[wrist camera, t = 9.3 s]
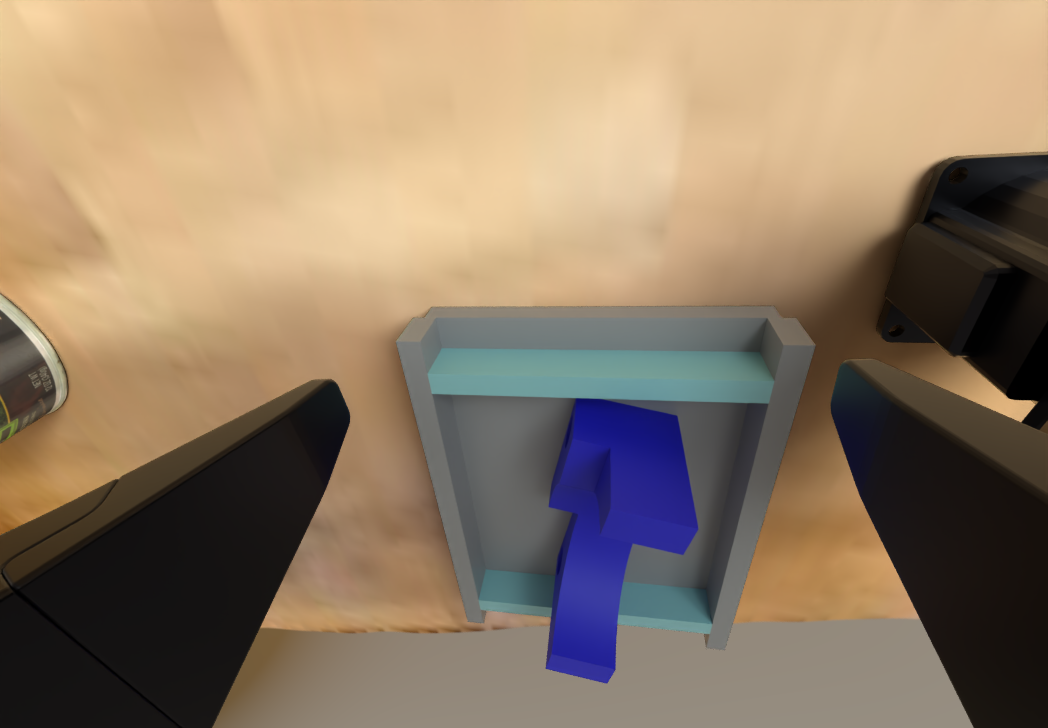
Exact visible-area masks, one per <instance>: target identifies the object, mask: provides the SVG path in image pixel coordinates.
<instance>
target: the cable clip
mask: <svg viewBox="0 0 1048 728" xmlns="http://www.w3.org/2000/svg"><path fill="white" fill-rule="evenodd" d="M548 507H550V508H554V509H559V510H563V511H567V512H572V516H571V519H570V522H569V525H568V528H567V531H566V534H565V537H564V539H563V542H562V545H561V548H560V551H559V554H558V557H557V564H556V574H555V584H554V593H553V603H552V613H551V622H550V632H549V642H548V651H547V662H546V669H549V670H553V671H557V672H561V673H566V674H570V675H574V676H578V677H582V678H586V679H590V680H594V681H599V682H603V683H608V681H609V679H610V678H611V676H612V675H613V673H614V671H615V662H616V661H615V658H616V657H615V656H616V635H617V622H618V612H619V604H620V597H621V591H622V585H623V580H624V575H625V570H626V566H627V562H628V558H629V554H630V551H631V548H632V545H633V544H637V545H641V546H646V547H650V548H654V549H659V550H663V551H667V552H672V553H676V554H680V555H684V553H685V551H686V550H687V548H688V546H689V545H690V543H691V541H692V539H693V538H694V536H695V534H696V533H697V531H698V529H699V528H698V523H697V517H696V512H695V507H694V501H693V496H692V491H691V485H690V480H689V475H688V469H687V464H686V459H685V453H684V448H683V443H682V437H681V432H680V427H679V421H678V416H677V415H672V414H668V413H663V412H659V411H654V410H650V409H645V408H640V407H636V406H631V405H627V404H622V403H618V402H613V401H608V400H604V399H591V398H576V399H575V403H574V406H573V410H572V413H571V417H570V420H569V424H568V427H567V431H566V434H565V438H564V441H563V445H562V448H561V452H560V456H559V459H558V463H557V466H556V470H555V473H554V477H553V480H552V484H551V491H550V498H549V506H548Z"/></svg>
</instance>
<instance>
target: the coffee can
mask: <svg viewBox="0 0 1048 728" xmlns="http://www.w3.org/2000/svg"><path fill="white" fill-rule="evenodd" d="M67 390H68V383H67V377H66V373H65V370H64V368H63V365H62V363H61V361H60V359H59V357H58V355H57V353H56V352H55V350H54V348H53V346H52V345H51V343H50V342H49V340H48V339H47V338H46V337H45V335H44V334H43V333H42V332H41V331H40V329H39V328H38V327H37V326H36V325H35V324H34V323H33V322H32V321H31V320H30V319H29V318H28V317H27V316H26V315H25V314H24V313H23V312H22V311H21V310H20V309H19V308H18V307H16V306H15V305H14V304H13V303H12V302H11V301H9V300H8V299H7V298H5V297H4V296H3V295H1V294H0V443H2V442H3V441H5V440H7V439H9V438H10V437H11V436H13V435H14V434H16V433H18V432H19V431H21V430H23V429H24V428H26V427H27V426H29V425H30V424H32V423H33V422H35V421H36V420H38V419H40V418H41V417H43V416H44V415H46V414H49V413H52V412H54V411H55V410H57V409H58V408H59V407H60V406H61V405H62V404H63V402H64V401H65V399H66V396H67Z"/></svg>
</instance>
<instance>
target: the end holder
mask: <svg viewBox="0 0 1048 728" xmlns="http://www.w3.org/2000/svg"><path fill="white" fill-rule="evenodd" d="M396 344H397V348H398V352H399V356H400V360H401V364H402V368H403V371H404V375H405V379H406V383H407V387H408V391H409V395H410V399H411V403H412V406H413V410H414V414H415V418H416V422H417V426H418V430H419V434H420V437H421V441H422V445H423V449H424V453H425V457H426V461H427V465H428V468H429V472H430V476H431V480H432V484H433V488H434V492H435V496H436V500H437V503H438V507H439V511H440V515H441V519H442V523H443V527H444V531H445V534H446V538H447V542H448V546H449V550H450V554H451V558H452V562H453V565H454V569H455V573H456V577H457V581H458V585H459V589H460V593H461V597H462V600H463V604H464V608H465V612H466V616H467V620H468V622H475V623H484V620H485V615H486V611H497V612H506V613H516V614H525V615H535V616H544V617H551V613H552V603H553V593H554V584H555V574H556V564H557V557H558V554H559V551H560V548H561V545H562V542H563V539H564V537H565V534H566V531H567V528H568V525H569V522H570V519H571V516H572V512H567V511H563V510H559V509H554V508H550V507H548V506H549V498H550V491H551V484H552V480H553V477H554V473H555V470H556V466H557V463H558V459H559V456H560V452H561V448H562V445H563V441H564V438H565V434H566V431H567V427H568V424H569V420H570V417H571V413H572V410H573V406H574V403H575V399H576V398H591V399H604V400H608V401H613V402H618V403H622V404H627V405H631V406H636V407H640V408H645V409H650V410H654V411H659V412H663V413H668V414H672V415H677V416H678V421H679V427H680V432H681V437H682V443H683V448H684V453H685V459H686V464H687V469H688V475H689V480H690V485H691V491H692V496H693V501H694V507H695V512H696V517H697V523H698V528H699V529H698V531H697V533H696V534H695V536H694V538H693V539H692V541H691V543H690V545H689V546H688V548H687V550H686V551H685V553H684V555H680V554H676V553H672V552H667V551H663V550H659V549H654V548H650V547H646V546H641V545H637V544H633V545H632V548H631V551H630V554H629V558H628V562H627V566H626V570H625V575H624V580H623V585H622V591H621V597H620V604H619V612H618V622H617V624H619V625H629V626H639V627H648V628H658V629H667V630H676V631H686V632H696V633H704V637H705V643H706V648H710V649H719V650H725V648H726V645H727V641H728V638H729V634H730V631H731V628H732V625H733V621H734V618H735V615H736V611H737V608H738V605H739V601H740V598H741V594H742V591H743V588H744V584H745V581H746V578H747V574H748V571H749V568H750V564H751V561H752V558H753V554H754V551H755V547H756V544H757V541H758V537H759V534H760V531H761V527H762V524H763V521H764V517H765V514H766V511H767V507H768V504H769V501H770V497H771V494H772V490H773V487H774V484H775V480H776V477H777V474H778V470H779V467H780V464H781V460H782V457H783V454H784V450H785V447H786V443H787V440H788V437H789V433H790V430H791V427H792V423H793V420H794V417H795V413H796V410H797V407H798V403H799V400H800V397H801V393H802V390H803V386H804V383H805V380H806V376H807V373H808V370H809V366H810V363H811V360H812V356H813V353H814V350H815V346H816V345H815V344H814V342H813V341H812V340H811V338H810V337H809V335H808V334H807V332H806V331H805V330H804V328H803V327H802V325H801V324H800V322H799V321H798V320H797V318H782V317H781V316H780V314H779V313H778V311H777V310H776V308H775V307H774V306H612V307H432V308H431V309H430V311H429V312H428V313H427V315H426V316H425V318H413V319H412V320H411V321H410V323H409V324H408V326H407V327H406V328H405V330H404V331H403V332H402V334H401V335H400V336H399V338H398V339H397V341H396Z"/></svg>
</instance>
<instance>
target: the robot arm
mask: <svg viewBox="0 0 1048 728" xmlns="http://www.w3.org/2000/svg"><path fill="white" fill-rule="evenodd" d="M956 168H960V173H959V175H958V176H957V177H956V178H955V179H954V180H952V181H948V180H949V175H950V174H951V172H952V171H954V170H955V169H956ZM885 296H886V298H887V299H886V302H885V305H884V308H883V310H882V313H881V316H880V318H879V321H878V324H877V328H876V331H877V333H878V334H879V335H880V336H881V337H882V338H883V339H884V340H885V341H887V342H901V343H937V344H938V345H939V346H940V347H942V348H943V349H944V350H945V351H946V352H947V353H948V354H949V355H951V356H953V357H962V358H963V359H964V360H965V361H966V362H967V363H968V364H970V365H971V366H972V367H973V368H974V369H975V370H977V371H978V372H979V373H980V374H981V375H982V376H983V377H985V378H986V379H987V380H988V381H989V382H990V383H992V384H993V385H994V386H995V387H996V388H997V389H998V390H1000V391H1001V392H1002V393H1003V394H1004V395H1005V396H1007V397H1008V398H1009V399H1013V400H1031V401H1032V402H1033V403H1035V404H1036V405H1035V406H1034V407H1033V409H1032V410H1031V411H1030V412H1029V413H1028V415H1027V416H1026V417H1025V418H1024V420H1023V421H1022V422H1019V421H1016V420H1014V419H1012V418H1009V417H1007V416H1005V415H1003V414H1000V413H998V412H996V411H993V410H991V409H989V408H986V407H984V406H982V405H980V404H977V403H975V402H973V401H970V400H968V399H966V398H963V397H961V396H959V395H957V394H954V393H952V392H950V391H947V390H945V389H943V388H940V387H938V386H936V385H934V384H931V383H929V382H927V381H924V380H922V379H920V378H917V377H915V376H913V375H911V374H908V373H906V372H904V371H901V370H899V369H897V368H894V367H892V366H890V365H888V364H885V363H883V362H881V361H878V360H876V359H848V360H845V361H844V362H842V364H841V365H840V368H839V371H838V375H837V379H836V383H835V387H834V391H833V395H832V399H831V414H832V417H833V420H834V423H835V426H836V429H837V432H838V435H839V438H840V441H841V444H842V446H843V449H844V452H845V455H846V458H847V461H848V464H849V467H850V470H851V473H852V475H853V478H854V481H855V484H856V487H857V489H858V492H859V495H860V497H861V499H862V501H863V504H864V506H865V508H866V510H867V512H868V514H869V516H870V518H871V520H872V522H873V524H874V526H875V528H876V530H877V533H878V535H879V537H880V539H881V541H882V543H883V545H884V547H885V549H886V551H887V553H888V555H889V557H890V559H891V561H892V563H893V565H894V567H895V569H896V571H897V573H898V575H899V577H900V579H901V581H902V583H903V585H904V587H905V589H906V591H907V593H908V595H909V597H910V599H911V602H912V604H913V606H914V608H915V610H916V612H917V614H918V616H919V618H920V620H921V622H922V624H923V626H924V628H925V630H926V632H927V634H928V636H929V638H930V640H931V642H932V644H933V646H934V648H935V650H936V652H937V654H938V656H939V658H940V660H941V662H942V664H943V666H944V668H945V670H946V673H947V674H948V676H949V679H950V681H951V683H952V685H953V687H954V689H955V691H956V693H957V695H958V697H959V699H960V701H961V703H962V705H963V707H964V709H965V711H966V713H967V715H968V717H969V719H970V721H971V723H972V725H973V727H974V728H1048V152H1030V153H1010V154H990V155H970V156H955V157H951V158H948V159H947V160H945V161H943V162H942V163H941V164H940V165H939V166H938V167H937V168H936V169H935V171H934V173H933V175H932V178H931V180H930V183H929V186H928V188H927V191H926V194H925V197H924V199H923V202H922V205H921V207H920V210H919V213H918V216H917V218H916V221H915V224H914V225H913V226H912V227H911V228H910V229H909V230H908V231H907V234H906V237H905V240H904V242H903V245H902V248H901V251H900V253H899V256H898V259H897V261H896V264H895V267H894V270H893V272H892V275H891V278H890V281H889V283H888V286H887V289H886V292H885ZM895 325H899V326H898V328H897V329H896V330H894V331H890V332H889V330H890V329H891V328H892V327H893V326H895ZM349 423H350V412H349V409H348V407H347V405H346V402H345V400H344V398H343V396H342V393H341V391H340V389H339V386H338V384H337V383H336V382H335V381H334V380H332V379H318V380H312V381H309V382H307V383H305V384H303V385H301V386H299V387H297V388H295V389H293V390H291V391H289V392H287V393H285V394H283V395H282V396H280V397H278V398H276V399H274V400H272V401H270V402H268V403H266V404H264V405H262V406H260V407H258V408H256V409H254V410H252V411H250V412H248V413H246V414H244V415H242V416H240V417H238V418H236V419H234V420H232V421H230V422H228V423H226V424H224V425H222V426H220V427H218V428H216V429H214V430H212V431H210V432H208V433H206V434H204V435H202V436H200V437H198V438H196V439H194V440H192V441H190V442H188V443H186V444H184V445H183V446H181V447H179V448H177V449H175V450H173V451H171V452H169V453H167V454H165V455H163V456H161V457H159V458H157V459H155V460H153V461H151V462H149V463H147V464H145V465H143V466H141V467H139V468H137V469H135V470H133V471H131V472H129V473H127V474H125V475H123V476H122V477H121V478H120V479H115V480H113V481H111V482H109V483H107V484H105V485H103V486H101V487H99V488H97V489H95V490H93V491H91V492H89V493H87V494H85V495H83V496H81V497H79V498H77V499H75V500H73V501H71V502H69V503H67V504H65V505H63V506H61V507H59V508H57V509H55V510H53V511H51V512H48V513H46V514H44V515H42V516H40V517H38V518H36V519H34V520H32V521H29V522H27V523H25V524H23V525H21V526H19V527H17V528H15V529H13V530H10V531H8V532H6V533H4V534H2V535H0V728H212V727H213V725H214V723H215V721H216V719H217V716H218V715H219V713H220V710H221V708H222V706H223V704H224V702H225V700H226V698H227V696H228V694H229V692H230V690H231V687H232V685H233V683H234V681H235V679H236V677H237V675H238V673H239V671H240V668H241V666H242V664H243V662H244V660H245V658H246V656H247V654H248V652H249V650H250V647H251V646H252V643H253V641H254V639H255V637H256V635H257V633H258V631H259V629H260V627H261V625H262V623H263V620H264V618H265V616H266V614H267V612H268V610H269V608H270V606H271V604H272V602H273V599H274V597H275V595H276V593H277V591H278V589H279V587H280V585H281V583H282V581H283V579H284V576H285V574H286V572H287V570H288V568H289V566H290V564H291V562H292V560H293V558H294V556H295V553H296V551H297V549H298V547H299V545H300V543H301V541H302V539H303V537H304V535H305V532H306V530H307V528H308V526H309V524H310V522H311V520H312V518H313V516H314V514H315V512H316V509H317V507H318V505H319V503H320V501H321V499H322V497H323V494H324V492H325V490H326V487H327V485H328V482H329V480H330V477H331V474H332V471H333V469H334V466H335V463H336V460H337V457H338V455H339V452H340V449H341V446H342V443H343V441H344V438H345V435H346V432H347V429H348V427H349Z"/></svg>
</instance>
